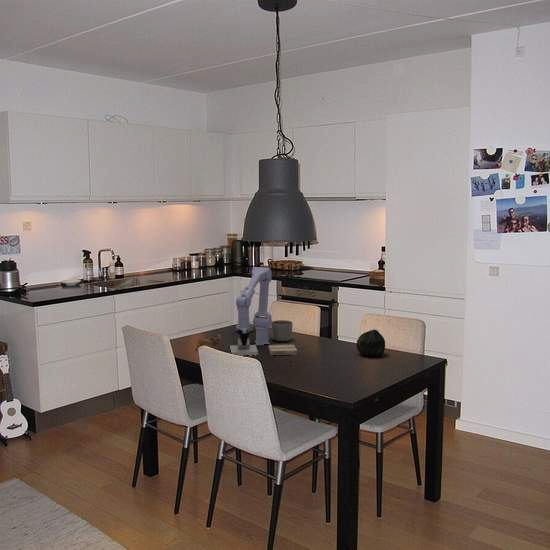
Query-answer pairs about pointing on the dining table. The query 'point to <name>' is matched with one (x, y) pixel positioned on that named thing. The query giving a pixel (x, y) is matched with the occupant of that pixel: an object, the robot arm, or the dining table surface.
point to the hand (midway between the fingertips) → (243, 343)
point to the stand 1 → (249, 352)
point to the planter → (281, 330)
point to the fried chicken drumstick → (210, 341)
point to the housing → (244, 345)
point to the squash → (371, 343)
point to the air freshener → (249, 327)
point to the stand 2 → (283, 349)
